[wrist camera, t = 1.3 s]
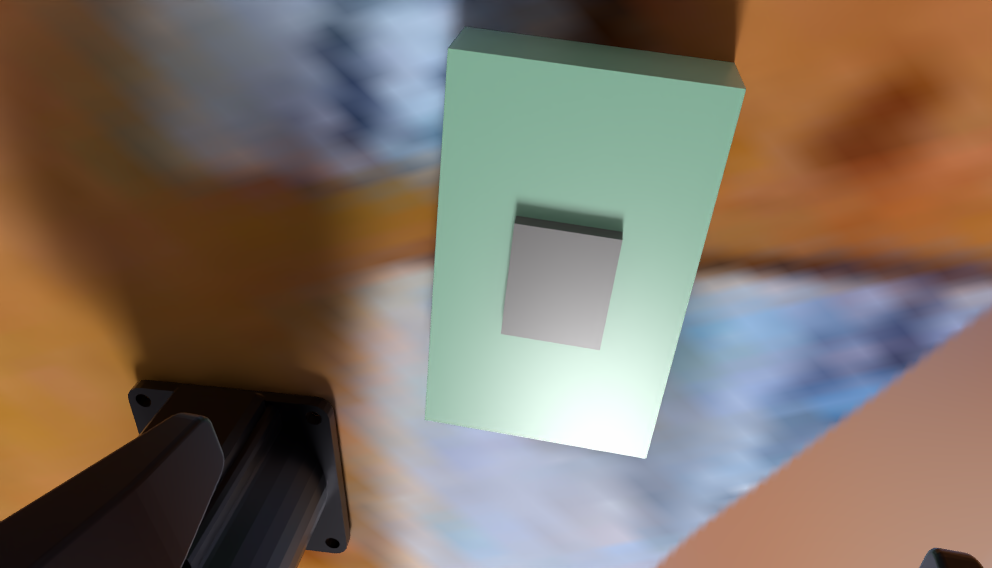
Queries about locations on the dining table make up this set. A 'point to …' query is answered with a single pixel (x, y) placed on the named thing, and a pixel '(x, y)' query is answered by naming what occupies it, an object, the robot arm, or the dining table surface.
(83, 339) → the dining table surface
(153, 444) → the robot arm
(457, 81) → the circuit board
